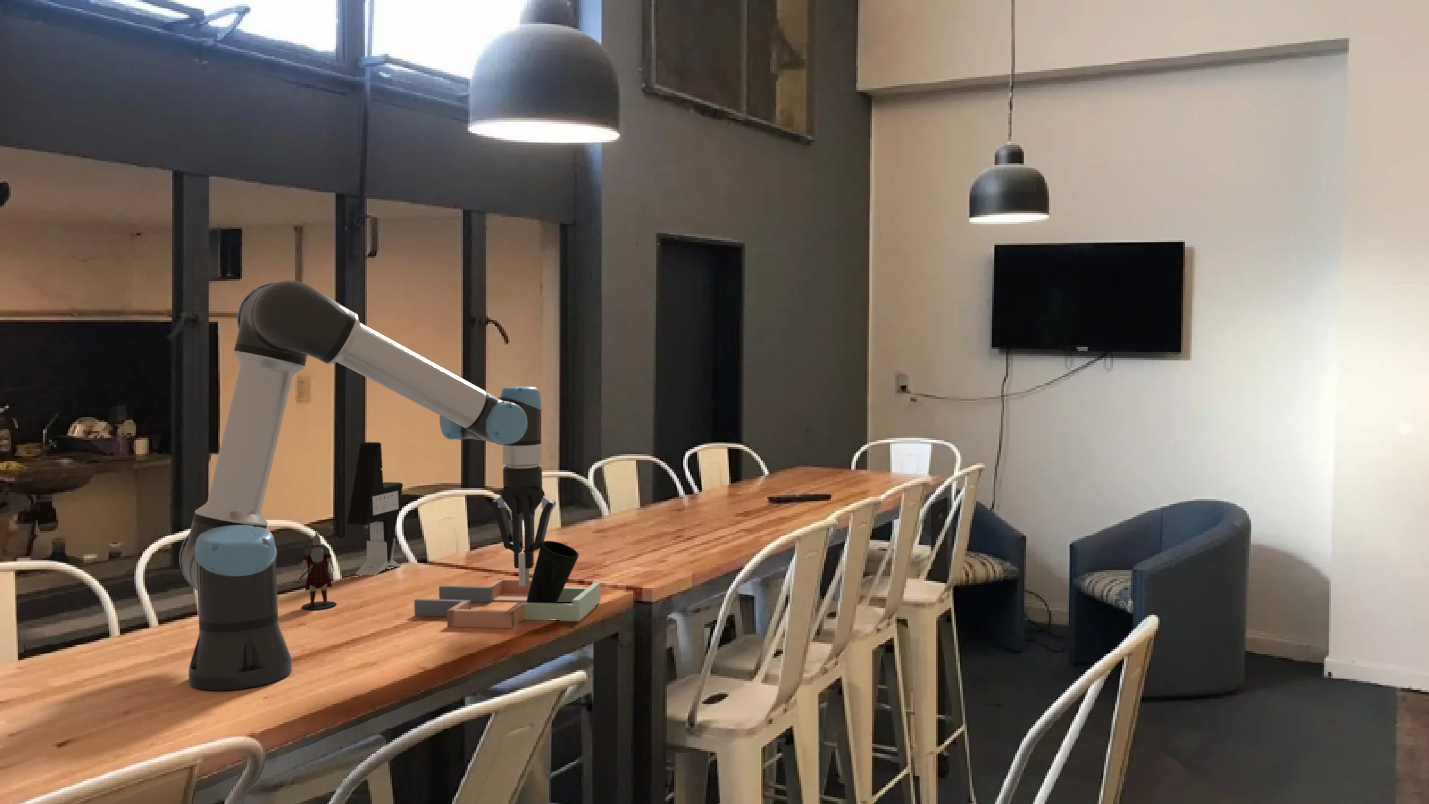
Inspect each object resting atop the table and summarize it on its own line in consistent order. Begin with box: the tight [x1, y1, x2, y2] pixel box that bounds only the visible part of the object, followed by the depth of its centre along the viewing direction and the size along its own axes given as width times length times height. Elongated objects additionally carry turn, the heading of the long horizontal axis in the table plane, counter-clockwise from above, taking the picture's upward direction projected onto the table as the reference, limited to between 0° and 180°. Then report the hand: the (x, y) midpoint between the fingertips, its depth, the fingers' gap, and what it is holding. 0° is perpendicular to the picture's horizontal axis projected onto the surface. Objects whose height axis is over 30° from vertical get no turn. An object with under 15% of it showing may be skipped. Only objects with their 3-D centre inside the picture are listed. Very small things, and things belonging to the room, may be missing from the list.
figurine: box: [298, 532, 337, 611], centre depth 227 cm, size 7×7×15 cm
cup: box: [526, 540, 580, 603], centre depth 220 cm, size 8×8×12 cm
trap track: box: [413, 578, 601, 629], centre depth 221 cm, size 33×28×4 cm
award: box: [346, 441, 404, 577], centre depth 260 cm, size 15×5×30 cm, turn 161°
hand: (524, 584), depth 221 cm, fingers closed
